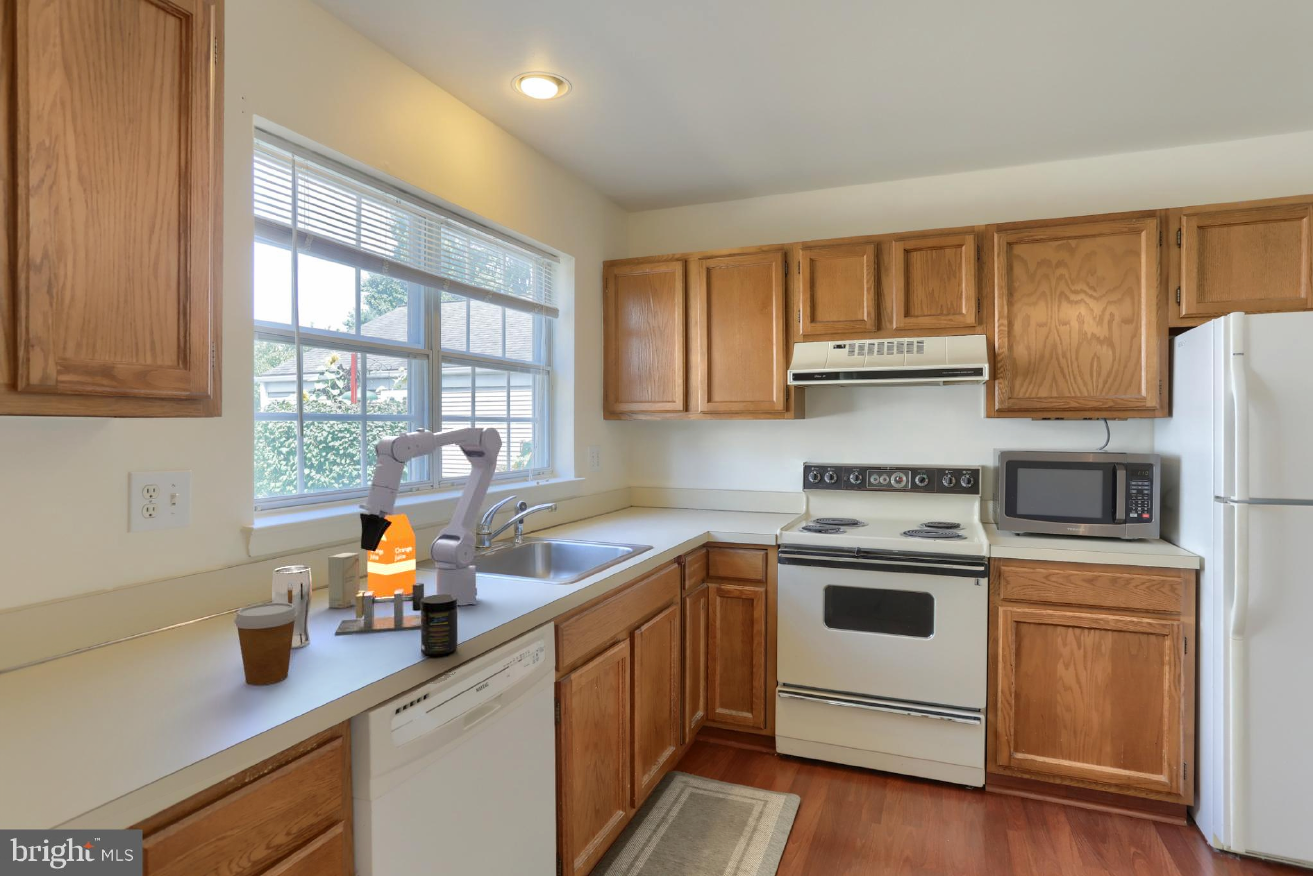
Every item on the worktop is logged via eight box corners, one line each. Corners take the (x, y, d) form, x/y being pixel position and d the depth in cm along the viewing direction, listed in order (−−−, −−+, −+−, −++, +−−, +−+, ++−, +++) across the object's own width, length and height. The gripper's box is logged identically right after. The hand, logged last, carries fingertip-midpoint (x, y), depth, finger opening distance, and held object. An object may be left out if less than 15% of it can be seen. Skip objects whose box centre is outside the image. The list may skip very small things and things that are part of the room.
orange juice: (367, 595, 177) (366, 516, 176) (396, 588, 184) (396, 513, 184) (387, 599, 173) (386, 519, 172) (416, 591, 180) (415, 515, 180)
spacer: (365, 611, 151) (365, 590, 151) (362, 618, 146) (361, 596, 146) (359, 612, 151) (359, 590, 151) (355, 618, 146) (355, 596, 146)
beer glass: (320, 642, 139) (319, 567, 138) (289, 652, 132) (288, 574, 132) (296, 637, 142) (295, 564, 141) (264, 647, 135) (263, 570, 135)
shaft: (424, 607, 153) (424, 582, 153) (423, 610, 151) (423, 585, 151) (352, 612, 149) (352, 587, 149) (350, 615, 147) (350, 589, 147)
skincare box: (344, 608, 164) (343, 557, 163) (327, 607, 165) (327, 556, 164) (360, 602, 170) (360, 552, 170) (344, 601, 171) (344, 551, 170)
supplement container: (463, 654, 132) (463, 599, 131) (428, 661, 127) (427, 605, 127) (450, 645, 137) (449, 592, 137) (415, 652, 133) (415, 597, 133)
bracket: (428, 616, 157) (428, 585, 157) (427, 628, 148) (426, 594, 148) (342, 623, 152) (342, 590, 152) (335, 635, 143) (335, 600, 143)
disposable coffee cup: (253, 693, 112) (253, 619, 112) (223, 682, 117) (222, 611, 117) (310, 675, 120) (309, 606, 120) (279, 665, 125) (278, 599, 125)
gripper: (369, 488, 158) (353, 548, 155) (361, 480, 145) (343, 545, 142) (401, 495, 160) (385, 553, 157) (396, 487, 146) (379, 551, 143)
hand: (368, 550), depth 149 cm, fingers open, 7 cm apart
